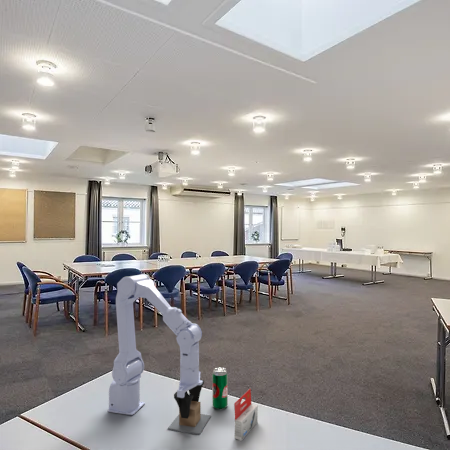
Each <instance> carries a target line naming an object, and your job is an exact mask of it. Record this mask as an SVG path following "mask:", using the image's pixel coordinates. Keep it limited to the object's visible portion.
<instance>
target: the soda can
mask: <svg viewBox="0 0 450 450" xmlns="http://www.w3.org/2000/svg"><path fill="white" fill-rule="evenodd" d="M211 376H212V377H211V378H212V382H211V384H212V389H211V390H212V391H211V392H212V394H211V395H212V399H211V400H212V401H211V403H212V407H213V408H214V409H216V410H223V409H226V408H227V407H228V402H229V401H228V397H229V396H228V392H229V391H228V372H227V368H226V367H214V368H213V370H212V374H211Z"/></svg>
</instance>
